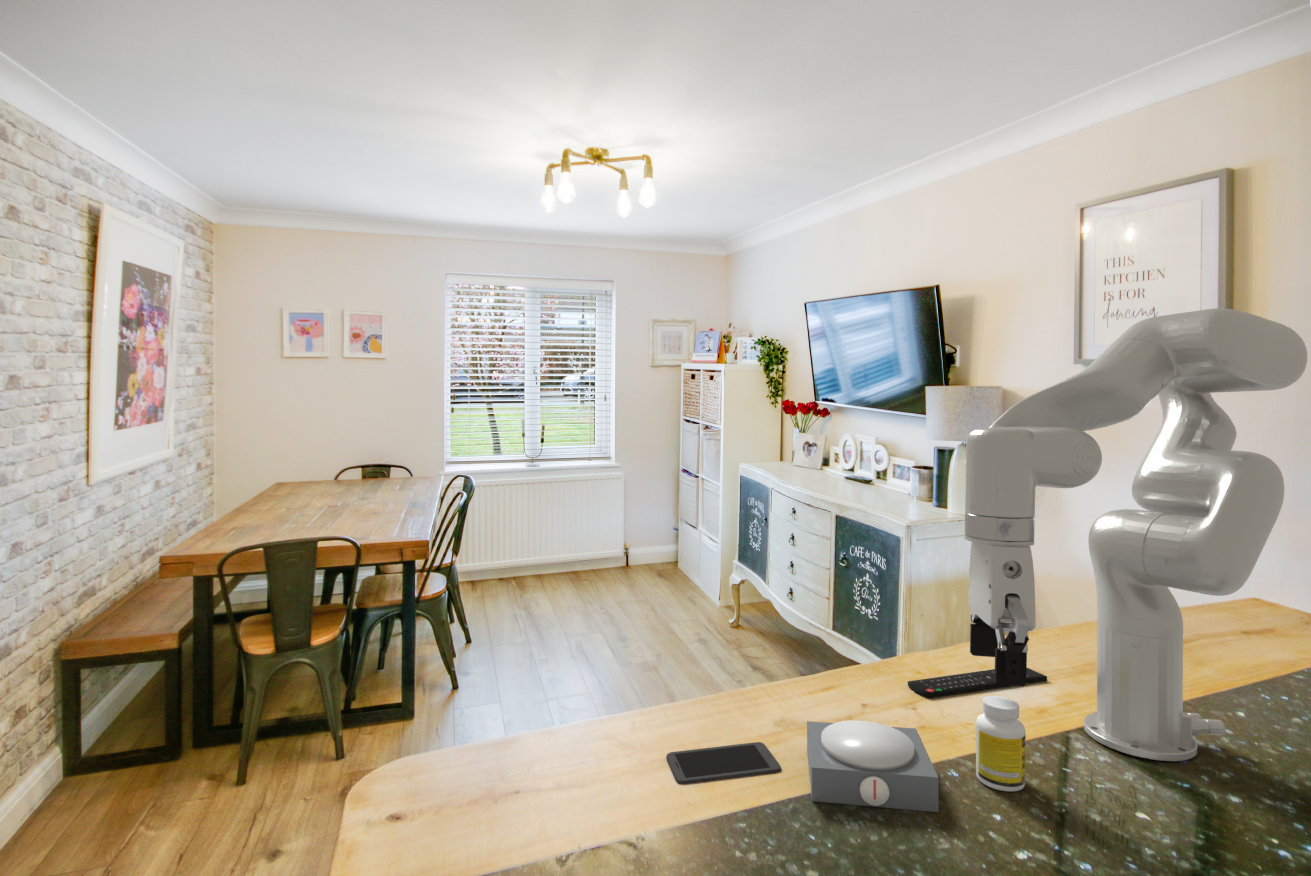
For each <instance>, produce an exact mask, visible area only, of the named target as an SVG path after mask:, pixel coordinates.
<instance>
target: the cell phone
mask: <svg viewBox="0 0 1311 876" xmlns="http://www.w3.org/2000/svg"><path fill="white" fill-rule="evenodd" d="M665 759H666V762H667V765H668V766H669V769H670V772H671V773H672V775H673V777H674V780H675V781H676V783H677V784H679V785H687V784H694V783H704V782H705V783H706V782H710V781H719V780H726V779H734V778H736V779H737V778H743V777H751V776H759V775H760V776H761V775H766V774H774V773H780V772H782V766H781V764H780V763H779V762H778V761H777V759H776V758H775V756H774V755H773V754H772V753H771V751H770V750H769V748H768V747H767V746H766V744H765V743H763V742H761V741H755V742H747V743H746V742H745V743H738V744H731V745H730V744H728V745H721V746H714V747H706V748H705V747H704V748H695V749H687V750H679V751H671V752H668V753H667V754H666V758H665Z"/></svg>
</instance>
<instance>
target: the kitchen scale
mask: <svg viewBox="0 0 1311 876" xmlns="http://www.w3.org/2000/svg"><path fill="white" fill-rule="evenodd" d="M806 752H807V754H806V755H807V764H808V775H809V783H810V785H809V786H810V793H811V794H810V795H811V801H812V802H816V803H817V802H818V803H827V804H829V803H830V804H841V805H842V804H843V805H851V806H852V805H853V806H862V807H873V808H874V807H876V808H886V809H897V810H910V811H920V812H921V811H922V812H929V813H930V812H931V813H939V812H940V811H939V776H938V773H937V771H936V768H935V767H934V765H933V763H932V760H931V757H930V756H929V754H928V752H927V749H926V747H925V745H924V743H923V741H922V738H921V736H920V734H919V731H918V729H917V728H913V727H899V726H889V725H886V724H884V723H883V724H882V723H880V722H874V721H869V720H868V721H867V720H859V719H858V720H853V719H852V720H842V721H836V722H823V721H809V720H808V721H807V720H806Z"/></svg>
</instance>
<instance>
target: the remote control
mask: <svg viewBox="0 0 1311 876" xmlns="http://www.w3.org/2000/svg"><path fill="white" fill-rule="evenodd" d="M1047 681H1048V676H1047V675H1045V674H1043V673H1041V672H1039V671H1035V670H1033V669H1031V668H1029V667H1027V672H1026V685H1027V684H1035V683H1039V682H1047ZM908 686H909V687H908ZM907 687H908V688H909V689H910V690H911V691H912V692H913V691H914V692H913V693H915V694H916V695H918V696H920V697H922V698H924V699H935V698H940V697H947V696H954V695H960V694H966V693H975V692H981V691H987V690H995V689H1000V688H1007V687H1013V686H1012V685H999V684H997V683H996V682H995V668H994V669H993V668H992V669H986V670H979V671H972V672H966V673H965V672H964V673H958V674H952V675H943V676H937V677H936V676H935V677H929V678H924V679H916V680H909V681H907Z"/></svg>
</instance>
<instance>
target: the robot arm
mask: <svg viewBox="0 0 1311 876" xmlns="http://www.w3.org/2000/svg"><path fill="white" fill-rule="evenodd" d="M1307 364H1308V350H1307V346H1306V344H1305V341H1304V340H1303V338H1302V337H1301V336H1300V335H1299V333H1297V332H1296V331H1295V330H1294V329H1293V328H1291V327H1289V326H1288V325H1284V324H1282V323H1280V322H1277V321H1273V320H1272V319H1268V318H1265V317H1262V316H1258V315H1256V314H1253V313H1248V312H1246V311H1241V310H1237V309H1232V308H1231V309H1230V308H1223V307H1222V308H1210V309H1209V308H1207V309H1200V310H1195V311H1192V310H1191V311H1187V312H1180V313H1172V314H1164V315H1158V316H1153V317H1149V318H1145V319H1142V320H1140V321H1137V322H1136V323H1134V324H1132V325H1131V326H1130V327H1128V328H1127V329H1126V330H1125V331H1124V332H1123V333H1122V334H1120V336H1119V337H1117V338H1116V339H1115V340H1114V341H1113V342H1112V343H1111V344H1110V345H1109V346H1108V347H1106V349H1105V350H1103V352H1102V353H1101V354H1100V355H1098V357H1096V358H1095V359H1094V360H1093V361H1092V362H1091V363H1090V364H1089V365H1088V366H1087V367H1086V368H1084V369H1083V370H1082V371H1080V372H1079V373H1076V374H1074V375H1072V376H1070V377H1067V378H1065V379H1063V380H1061V381H1059V382H1056V383H1055V384H1052V385H1050V386H1049V387H1046V388H1044V389H1042V390H1040V391H1038V392H1036V393H1033V394H1031V395H1030V396H1027V397H1026V398H1023V399H1021V400H1020V401H1018V402H1017V403H1015V404H1014V405H1012V406H1011V407H1009V408H1008V409H1007V410H1006V411H1005V412H1004V413H1002V414H1001V415H1000V417H998V418H997V419H996V420H995V421H993V423H992V424H991V425H990V426H988V427H981V428H976V429H973V430H972V431H970V433H969V434H968V435H967V438H966V445H965V446H966V447H965V448H966V449H965V451H966V452H965V456H966V457H965V499H964V500H965V502H964V503H965V505H964V506H965V507H964V508H965V510H964V511H965V512H964V540H966V541H968V542H971V546H970V550H969V551H970V555H969V569H968V603H969V607H970V609H971V612H970V618H969V620H970V627H969V628H970V629H969V631H970V632H969V633H970V635H969V636H970V637H969V653H970V654H971V655H972V656H974V657H990V658H994V669H995V682H996V683H997V684H999V685H1012V686H1011V687H1013V686H1014V687H1025V686H1026V685H1027V684H1026V672H1027V668H1028V667H1027V666H1028V665H1027V664H1028V662H1027V661H1028V655H1027V654H1028V651H1029V646H1028V643H1029V640H1030V637H1029V635H1028V633H1029V632H1032V631H1034V629H1036V623H1037V620H1036V619H1037V617H1036V589H1035V588H1036V586H1035V572H1034V563H1033V562H1034V560H1033V554H1032V548H1031V547H1032V546H1034V545H1035V523H1036V521H1035V520H1036V518H1035V516H1036V487H1043V488H1044V487H1045V488H1052V489H1053V488H1055V489H1073V488H1076V487H1082V486H1083V485H1085V484H1088V483H1089V482H1090V481H1091V480H1092V479H1094V478H1095V477H1096V476H1097V474H1098V473H1099V471H1100V469H1101V465H1102V462H1103V454H1102V451H1101V450H1102V449H1101V447H1100V445H1099V443H1098V442H1097V440H1095V438H1094V437H1093V436H1091V435H1090V433H1087V432H1088V431H1093V430H1098V429H1102V428H1107V427H1110V426H1114V425H1117V424H1121V423H1123V422H1126V421H1129V420H1131V419H1134V417H1136V416H1138V415H1139V414H1140V413H1142V411H1143V410H1144V409H1146V407H1147V406H1149V404H1150V403H1151V402H1152V401H1154V400H1153V399H1155V398H1156V396H1158V398H1159V402H1160V406H1161V410H1162V421H1161V422H1162V423H1161V425H1160V428H1159V430H1158V432H1157V433H1156V436H1155V437H1154V438H1153V439H1154V440H1153V441H1152V442H1151V445H1150V446H1149V449H1148V450H1147V452H1146V454H1145V456H1144V457H1143V460H1142V461H1141V463H1140V465H1139V466H1138V468H1137V471H1136V473H1135V475H1134V478H1133V480H1132V484H1131V493H1132V497H1133V499H1134V501H1135V502H1136V504H1137V505H1138V506H1140V507H1141V508H1143V509H1130V508H1124V509H1116V510H1115V509H1114V510H1111V511H1110V510H1109V511H1108V512H1105V513H1103V514H1101V515H1100V516H1098V517H1097V518H1096V519H1095V520H1094V521H1093V522H1092V524H1091V527H1090V528H1089V531H1088V550H1089V555H1090V560H1091V563H1092V564H1091V565H1092V568H1093V573H1094V580H1095V587H1096V615H1097V616H1096V712H1092V713H1089V714H1087V715H1086V716H1085V717H1084V718H1083V729H1084V731H1085V732H1086V734H1087V735H1088V736H1089V737H1091V738H1092V739H1093V740H1095V741H1096V742H1098V743H1100V744H1101V745H1103V746H1106V747H1107V748H1110V749H1112V750H1115V751H1117V752H1120V753H1122V754H1127V755H1130V756H1133V757H1138V758H1141V759H1142V758H1143V759H1146V758H1147V759H1148V760H1154V761H1160V762H1161V761H1162V762H1182V761H1186V760H1191V759H1193V758H1194V757H1196V756H1197V754H1198V741H1196V739H1195V738H1194V737H1197V736H1198V735H1199V734H1206V735H1212V736H1224V735H1225V734H1226V727H1225V723H1224V722H1223V721H1222V720H1221V719H1213V718H1212V719H1210V718H1203V719H1202V716H1201V714H1200V713H1198V712H1196V713H1195V712H1185V711H1184V710H1183V709H1184V708H1183V707H1184V706H1183V705H1184V704H1183V701H1184V698H1183V697H1184V695H1183V693H1184V691H1183V689H1184V686H1183V683H1184V680H1183V679H1184V677H1183V676H1184V620H1183V615H1182V611H1181V609H1180V606H1179V604H1178V602H1177V600H1176V599H1175V596H1174V595H1173V593H1172V591H1171V590H1170V589H1169V588H1173V589H1177V590H1183V591H1187V592H1192V593H1198V594H1202V595H1207V596H1217V597H1219V596H1222V597H1223V596H1228V595H1229V596H1230V595H1232V594H1234V593H1236V592H1238V591H1239V590H1240V589H1242V588H1243V586H1244V585H1245V584H1246V582H1247V581H1248V579H1249V578H1250V576H1251V574H1252V572H1253V570H1254V569H1255V566H1256V564H1257V562H1258V560H1259V558H1260V556H1261V553H1262V551H1263V549H1264V547H1265V545H1266V543H1267V541H1268V539H1269V537H1270V535H1271V532H1272V530H1273V528H1274V526H1275V523H1276V522H1277V520H1278V518H1279V514H1280V513H1281V510H1282V508H1283V502H1284V499H1285V498H1284V497H1285V482H1284V477H1283V473H1282V471H1281V469H1280V467H1279V466H1278V465H1277V463H1275V461H1274V460H1273V459H1271V458H1269V457H1268V456H1265V455H1263V454H1261V453H1258V452H1252V451H1245V450H1232V449H1233V447H1234V445H1235V442H1236V438H1237V429H1236V426H1235V423H1233V420H1232V418H1231V417H1230V416H1229V415H1228V414H1227V412H1226V411H1225V410H1224V409H1223V408H1221V406H1219V405H1218V403H1217V402H1216V400H1215V399H1214V398H1213V396H1212V394H1213V393H1234V392H1236V393H1237V392H1259V391H1261V392H1262V391H1263V392H1264V391H1265V392H1266V391H1277V390H1281V389H1285V388H1287V387H1289V386H1291V385H1293V384H1295V383H1296V382H1297V381H1298V380H1299V379H1300V378H1301V377H1302V375H1304V373H1305V370H1306V367H1307ZM1086 431H1087V432H1086ZM1005 632H1008V633H1007V635H1006V636H1005Z"/></svg>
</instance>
